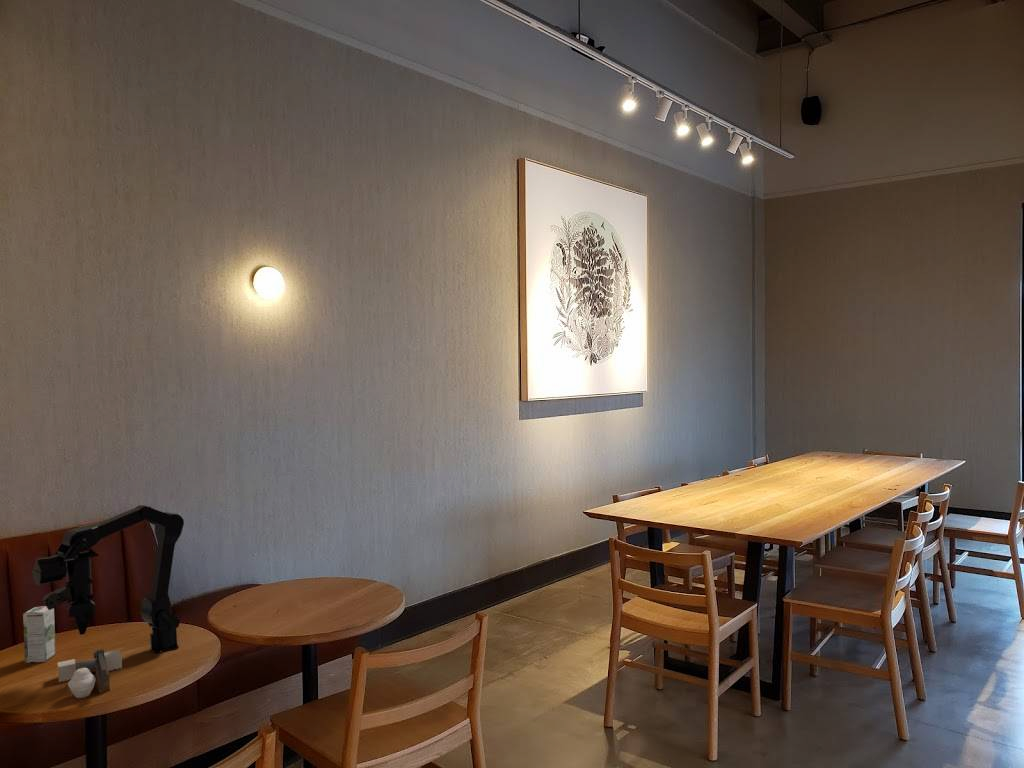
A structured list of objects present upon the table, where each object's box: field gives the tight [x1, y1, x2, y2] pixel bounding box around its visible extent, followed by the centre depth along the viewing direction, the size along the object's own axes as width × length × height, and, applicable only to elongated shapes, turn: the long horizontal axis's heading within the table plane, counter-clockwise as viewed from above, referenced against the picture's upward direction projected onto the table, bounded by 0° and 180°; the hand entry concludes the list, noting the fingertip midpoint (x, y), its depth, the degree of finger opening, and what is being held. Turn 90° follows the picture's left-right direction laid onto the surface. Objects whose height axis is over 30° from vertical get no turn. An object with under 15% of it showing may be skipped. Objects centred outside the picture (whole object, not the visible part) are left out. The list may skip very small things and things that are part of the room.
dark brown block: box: [92, 648, 111, 694], centre depth 201 cm, size 2×22×4 cm, turn 32°
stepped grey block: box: [95, 648, 107, 678], centre depth 197 cm, size 2×16×2 cm, turn 32°
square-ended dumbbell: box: [57, 649, 123, 683], centre depth 205 cm, size 15×4×4 cm, turn 122°
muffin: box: [67, 668, 97, 699], centre depth 190 cm, size 6×6×7 cm
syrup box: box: [22, 605, 57, 664], centre depth 217 cm, size 6×6×14 cm
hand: (82, 633), depth 204 cm, fingers closed
